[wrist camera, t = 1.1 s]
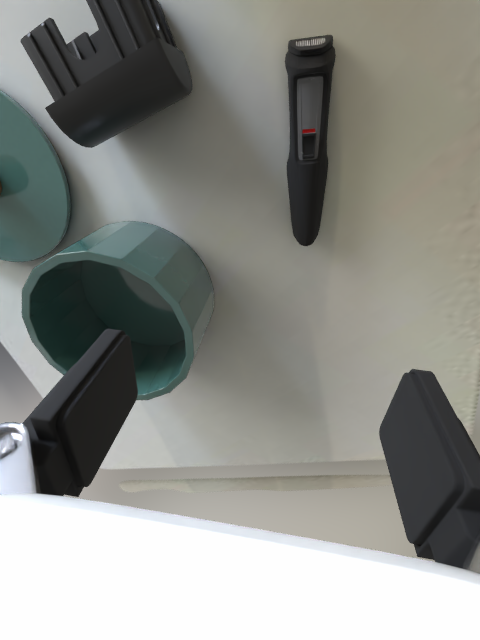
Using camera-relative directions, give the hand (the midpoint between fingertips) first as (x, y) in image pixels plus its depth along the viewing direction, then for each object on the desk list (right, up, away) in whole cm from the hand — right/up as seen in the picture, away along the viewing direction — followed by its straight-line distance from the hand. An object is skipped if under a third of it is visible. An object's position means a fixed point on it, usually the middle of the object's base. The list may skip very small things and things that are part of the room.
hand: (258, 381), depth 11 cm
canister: (-12, +5, +28) cm, 31 cm away
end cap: (-10, +23, +17) cm, 30 cm away
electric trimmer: (+5, +17, +18) cm, 26 cm away
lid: (-27, +17, +22) cm, 39 cm away
